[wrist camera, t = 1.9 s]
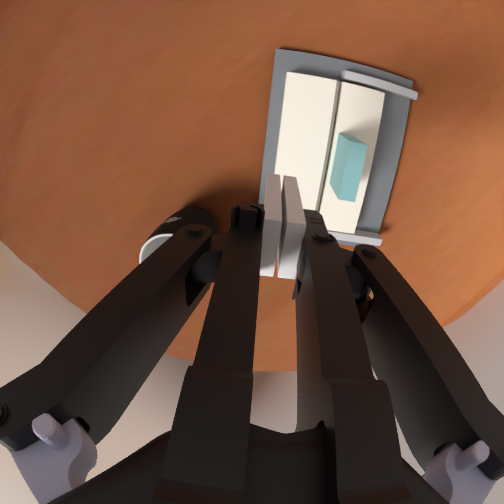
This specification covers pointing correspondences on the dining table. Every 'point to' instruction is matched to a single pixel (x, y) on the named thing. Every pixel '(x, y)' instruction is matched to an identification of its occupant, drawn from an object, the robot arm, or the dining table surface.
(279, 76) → the board
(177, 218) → the mug
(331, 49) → the dining table surface
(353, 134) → the white long block
